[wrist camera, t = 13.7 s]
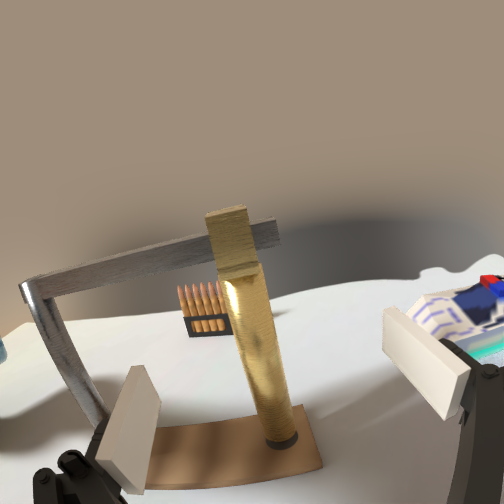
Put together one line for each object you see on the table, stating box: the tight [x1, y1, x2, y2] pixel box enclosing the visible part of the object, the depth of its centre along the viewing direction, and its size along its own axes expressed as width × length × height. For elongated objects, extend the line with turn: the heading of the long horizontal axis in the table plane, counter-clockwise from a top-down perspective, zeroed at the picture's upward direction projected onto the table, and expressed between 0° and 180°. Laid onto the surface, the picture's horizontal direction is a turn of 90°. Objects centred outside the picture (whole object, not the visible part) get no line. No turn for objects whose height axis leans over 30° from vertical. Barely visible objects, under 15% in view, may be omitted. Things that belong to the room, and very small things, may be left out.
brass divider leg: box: [205, 204, 296, 442], centre depth 25 cm, size 4×4×25 cm
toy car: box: [405, 275, 504, 360], centre depth 36 cm, size 17×30×9 cm, turn 80°
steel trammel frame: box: [18, 217, 281, 429], centre depth 25 cm, size 25×3×24 cm, turn 95°
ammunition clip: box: [178, 280, 234, 337], centre depth 60 cm, size 11×2×12 cm, turn 79°
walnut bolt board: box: [144, 404, 323, 490], centre depth 28 cm, size 25×10×2 cm, turn 95°
